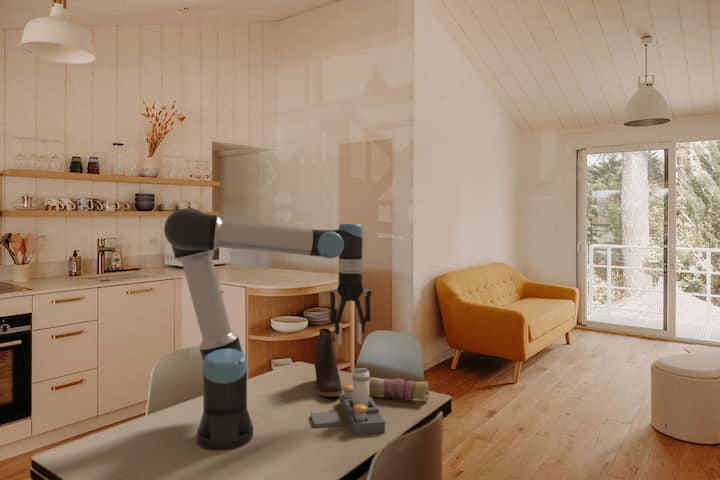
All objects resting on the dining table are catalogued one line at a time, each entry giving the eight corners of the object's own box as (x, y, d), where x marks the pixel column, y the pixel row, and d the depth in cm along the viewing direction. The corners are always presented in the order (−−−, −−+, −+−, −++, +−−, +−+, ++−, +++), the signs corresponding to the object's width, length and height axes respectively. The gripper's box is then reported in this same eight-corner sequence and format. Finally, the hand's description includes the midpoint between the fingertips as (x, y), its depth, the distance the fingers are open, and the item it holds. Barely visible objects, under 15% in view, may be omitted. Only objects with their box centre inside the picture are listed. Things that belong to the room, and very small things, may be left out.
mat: (314, 427, 146) (314, 423, 146) (311, 416, 153) (311, 413, 153) (341, 425, 147) (341, 421, 147) (336, 414, 155) (336, 411, 155)
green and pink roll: (430, 392, 171) (374, 386, 177) (429, 376, 168) (372, 370, 173) (427, 409, 165) (369, 402, 170) (426, 392, 161) (366, 385, 167)
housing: (354, 434, 141) (354, 420, 141) (339, 403, 164) (339, 391, 164) (384, 432, 143) (385, 418, 143) (366, 401, 166) (366, 389, 166)
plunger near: (354, 426, 142) (354, 410, 142) (351, 420, 146) (351, 404, 146) (368, 425, 143) (369, 409, 143) (365, 419, 147) (365, 403, 147)
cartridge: (354, 420, 151) (354, 372, 150) (350, 413, 156) (351, 366, 155) (370, 419, 152) (371, 371, 151) (366, 412, 157) (367, 365, 156)
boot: (321, 402, 165) (321, 342, 164) (308, 379, 188) (308, 326, 187) (346, 400, 167) (347, 341, 166) (331, 377, 190) (331, 325, 189)
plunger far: (343, 404, 159) (343, 389, 159) (341, 399, 163) (341, 385, 163) (356, 403, 160) (356, 388, 160) (354, 398, 164) (354, 384, 164)
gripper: (322, 273, 154) (322, 347, 155) (381, 272, 158) (380, 345, 159) (319, 270, 161) (319, 341, 162) (376, 270, 165) (375, 339, 166)
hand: (349, 343), depth 160 cm, fingers open, 6 cm apart
